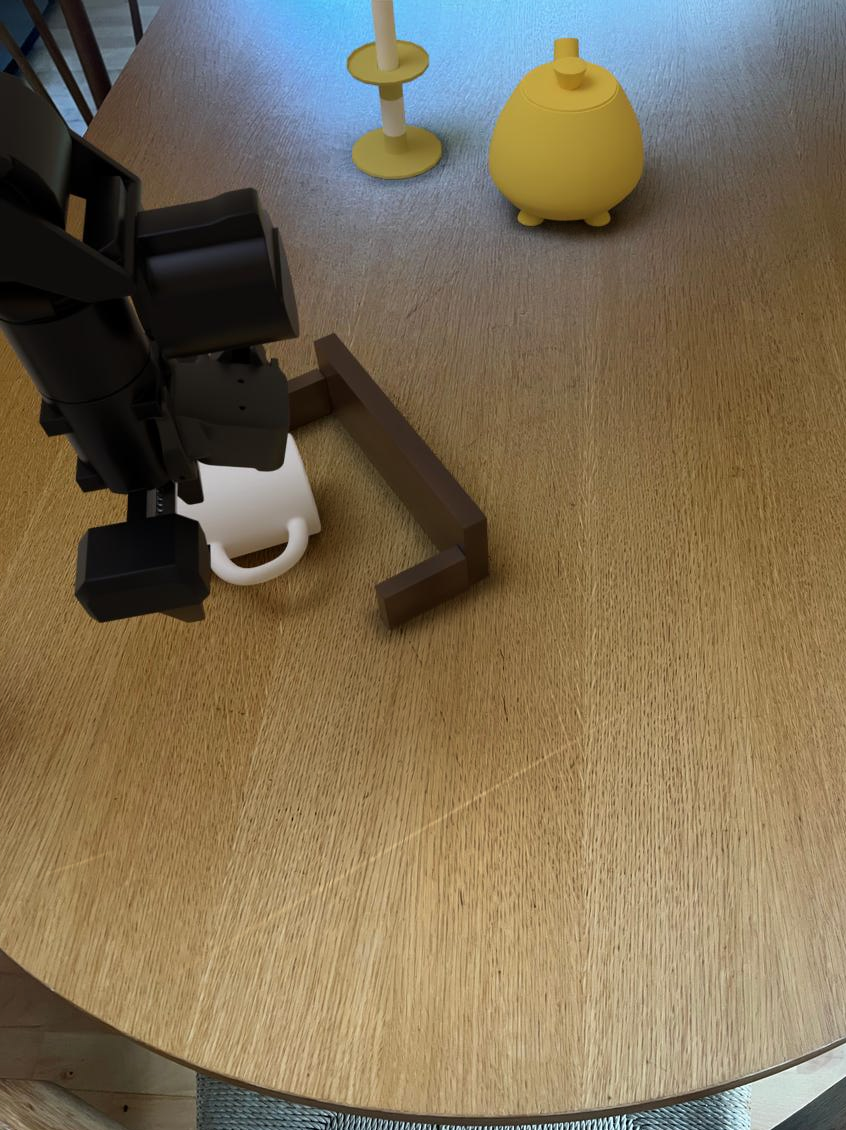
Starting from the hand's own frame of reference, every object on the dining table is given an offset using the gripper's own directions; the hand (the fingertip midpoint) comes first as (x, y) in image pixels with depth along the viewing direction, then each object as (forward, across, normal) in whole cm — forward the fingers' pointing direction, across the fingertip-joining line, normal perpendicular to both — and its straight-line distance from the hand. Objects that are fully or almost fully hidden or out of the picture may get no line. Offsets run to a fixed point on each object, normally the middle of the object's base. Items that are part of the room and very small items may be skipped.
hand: (196, 558), depth 62 cm
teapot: (+17, +56, -34) cm, 67 cm away
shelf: (+15, +16, -9) cm, 24 cm away
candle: (+16, +65, -17) cm, 69 cm away
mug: (+15, +12, 0) cm, 19 cm away
